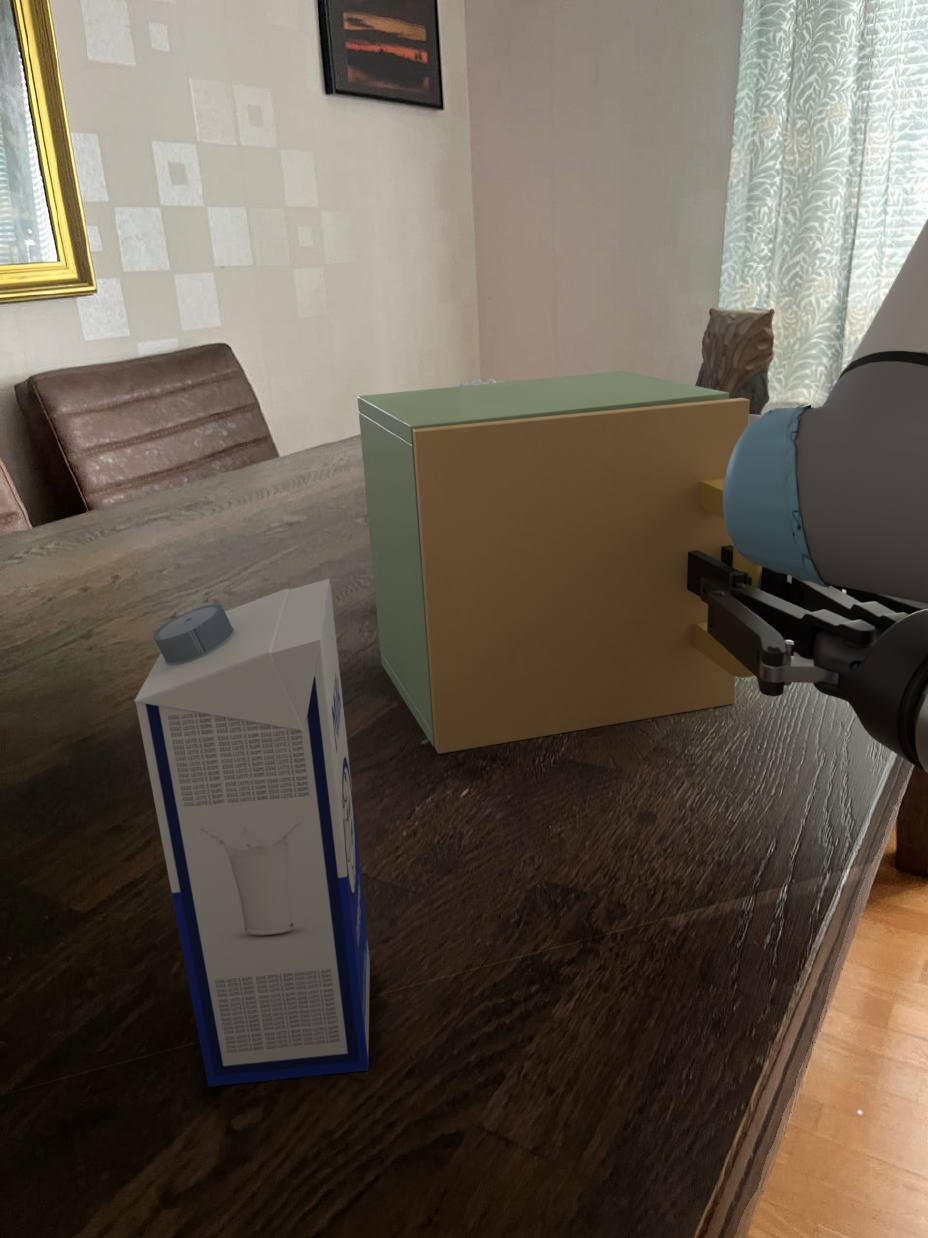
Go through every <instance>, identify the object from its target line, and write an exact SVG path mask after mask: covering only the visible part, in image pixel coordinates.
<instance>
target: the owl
mask: <svg viewBox="0 0 928 1238" xmlns="http://www.w3.org/2000/svg"><path fill="white" fill-rule="evenodd" d="M708 310H709V311H708V315H709V317H710V318H709V320H708V321H707V322H708V323H707V325H706V329H705V330H704V332H703V336H702V340H701V346H702V347H701V355H702V356H701V357H702V363H701V365H700V369H699V371H698V374H697V379H696V381H695V385H694V386H698V387H703V388H708V389H713V390H718V391H723V392H727V393H729V399H734V398H745V399H749V400H750V401H749V414H751V415H762V416H763V414H762V412H763V410H764V408H765V407H766V405H767V404H768V403H769V401H770V391H769V389H770V388H769V382H770V380H769V375H768V374H769V370H770V367H771V365H772V361H773V360H774V359H775V358H774V356H775V350H774V344H775V334H774V333H775V332H774V331H773V330H774V329H773V320H774V315H775V312H776V311H775V309H774V308H770V309H768V310H767V309H764V308H763V309H762V308H760V307H756V306H755V307H748V308H744V309H735V308H730V309H729V308H728V309H727V308H724V307H711V308H710V309H708Z"/></svg>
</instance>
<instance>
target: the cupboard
mask: <svg viewBox="0 0 928 1238" xmlns="http://www.w3.org/2000/svg"><path fill="white" fill-rule="evenodd" d="M724 399H729V393H727V392H723V391H718V390H713V389H708V388H703V387H698V386H695V385H694V384H689V383H682V382H678V381H672V380H668V379H664V378H658V377H654V376H650V375H649V376H648V375H644V374H639V373H634V372H630V371H624V370H618V371H609V372H597V373H587V374H577V375H568V376H567V375H566V376H556V377H547V378H535V379H525V380H514V381H504V382H502V383H491V384H481V385H470V386H459V387H457V386H451V387H439V388H438V387H437V388H430V389H429V388H428V389H419V390H417V389H416V390H408V391H399V392H398V391H397V392H387V393H377V394H365V395H358V396H357V408H358V420H359V430H360V441H361V442H360V443H361V452H362V453H361V454H362V464H363V474H364V487H365V496H366V497H365V498H366V509H367V520H368V531H369V542H370V552H371V553H370V555H371V562H372V563H371V564H372V576H373V585H374V586H373V587H374V597H375V608H376V618H377V629H378V631H377V632H378V640H379V641H378V643H379V651H380V664H381V666H382V668H383V669H384V671H385V672H386V674H387V675H388V677H389V679H390V680H391V682H392V684H393V685H394V686H395V688H396V690H397V691H398V693H399V695H400V696H401V698H402V699H403V701H404V702H405V704H406V706H407V708H408V710H410V712H411V714H412V716H413V717H414V719H416V722H417V724H418V725H419V727H420V729H421V730H422V731H423V733H424V735H425V736H426V738H427V740H428V741H429V742H430V744H431V745H432V747H433V748H435V740H434V726H433V712H432V698H431V684H430V670H429V656H428V642H427V628H426V613H425V599H424V585H423V571H422V557H421V543H420V529H419V515H418V501H417V487H416V472H415V458H414V444H413V429H419V428H430V427H440V426H451V425H461V424H472V423H482V422H493V421H503V420H514V419H524V418H535V417H545V416H556V415H566V414H577V413H587V412H598V411H608V410H619V409H629V408H640V407H650V406H661V405H671V404H682V403H692V402H703V401H713V400H724Z"/></svg>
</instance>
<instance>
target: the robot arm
mask: <svg viewBox="0 0 928 1238" xmlns="http://www.w3.org/2000/svg"><path fill="white" fill-rule="evenodd" d="M853 351H854V352H853V354H851V357H850V359H849V360H848V362H847V364H846V366H845V368H844V369H843V370H842V371H841V373H840V375H839V377H838V378H837V381H836V382H835V384H834V386H833V387H832V389H831V390H830V393H829V394H828V395H827V398H826V400H825V401H824V403H823V404H822V406H816V407H813V406H812V404H803V403H802V404H800V405H798V406H797V407H784V406H783V407H781V406H780V407H775V408H771V409H769V410H767V411H765V412H763V414H762V417H761V418H760V419H758V420H756V421H753V422H751V423H750V424H749V425H748V426H747V428H746V429H745V430H744V432H743V433H742V435H741V436H740V438H739V440H738V441H737V443H736V445H735V448H734V450H733V452H732V454H731V457H730V460H729V463H728V467H727V471H726V475H725V481H724V488H723V513H724V520H725V524H726V528H727V531H728V534H729V536H730V538H731V539H732V541H733V542H734V546H735V547H736V548H737V550H738V551H739V553H740V554H741V555H742V556H743V557H744V558H746V559H747V560H749V561H751V562H752V563H754V564H756V565H759V566H762V577H761V590H759V589H757V588H754V587H752V577H750V576H748V573H747V572H742V571H738V570H736V569H734V568H733V550H734V546H732V545H728V546H722V547H721V562H720V561H718V560H717V559H715V558H713V557H711V556H709V555H707V554H705V553H703V552H701V551H699V550H695V551H689V552H688V570H687V590H689V591H691V592H692V593H694V594H696V595H697V596H699V597H700V599H701V601H703V602H705V603H707V604H708V621H707V632H708V633H709V634H710V635H711V636H712V637H713V638H715V639H716V640H717V641H718V642H719V643H720V644H721V645H722V646H723V647H724V648H725V649H726V650H728V651H729V652H730V653H731V654H732V655H733V656H734V657H735V658H736V659H737V660H738V661H740V662H741V663H742V664H743V665H744V666H745V667H746V668H747V669H748V670H749V671H750V672H751V673H753V674H754V676H755V677H756V679H757V685H758V690H759V692H760V694H762V695H765V696H768V697H779V696H782V695H783V694H784V691H785V686H788V687H789V686H791V685H792V683H798V684H799V683H801V684H802V683H803V684H813V686H814V688H815V689H816V690H817V691H818V692H820V693H822V694H823V695H827V696H829V697H834V698H835V699H839V700H842V701H845V702H847V703H848V704H849V705H850V707H851V709H852V710H853V711H854V713H855V716H856V717H857V719H858V720H859V722H860V724H861V725H862V727H863V729H864V730H865V731H866V733H867V734H868V735H869V736H870V737H871V738H872V739H873V740H874V741H876V742H877V743H879V744H880V745H882V746H884V747H885V748H887V749H888V750H890V751H891V752H893V753H895V755H898V756H899V757H901V758H902V759H904V760H905V761H907V762H908V763H910V764H911V765H913V766H915V767H917V769H920V770H922V771H924V772H926V773H927V774H928V218H927V219H926V221H925V223H924V225H923V226H922V229H921V230H920V232H919V234H918V235H917V237H916V239H915V241H914V242H913V244H912V247H911V248H910V250H909V251H908V254H907V255H906V257H905V258H904V261H903V262H902V264H901V266H900V268H899V270H898V272H897V274H896V276H895V277H894V279H893V280H892V283H891V284H890V286H889V288H888V290H887V292H886V293H885V296H884V297H883V299H882V301H881V303H880V304H879V306H878V308H877V310H876V312H875V313H874V315H873V318H872V319H871V321H870V323H869V324H868V326H867V328H866V329H865V332H864V333H863V335H862V337H861V339H860V340H859V342H858V344H857V346H856V348H855V350H853ZM843 590H844V591H845V592H843Z"/></svg>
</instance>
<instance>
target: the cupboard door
mask: <svg viewBox="0 0 928 1238" xmlns="http://www.w3.org/2000/svg"><path fill="white" fill-rule="evenodd" d="M749 401H750V400H749V399H745V398H734V399H724V400H713V401H703V402H692V403H682V404H671V405H661V406H650V407H640V408H629V409H619V410H608V411H598V412H587V413H577V414H566V415H556V416H545V417H535V418H524V419H514V420H503V421H493V422H482V423H472V424H461V425H451V426H440V427H430V428H419V429H413V444H414V458H415V472H416V487H417V501H418V515H419V529H420V543H421V557H422V571H423V585H424V599H425V613H426V628H427V642H428V656H429V670H430V684H431V698H432V712H433V726H434V740H435V747H434V748H435V751H436V752H437V754H438V755H441V754H447V753H453V752H459V751H464V750H470V749H476V748H481V747H483V748H484V747H489V746H494V745H499V744H505V743H506V744H507V743H511V742H512V743H513V742H517V741H523V740H529V739H536V738H542V737H546V736H553V735H559V734H565V733H570V732H575V731H576V732H577V731H582V730H583V731H584V730H588V729H593V728H599V727H606V726H611V725H612V726H613V725H617V724H624V723H628V722H629V723H630V722H636V721H640V720H641V721H642V720H647V719H654V718H660V717H665V716H670V715H676V714H681V713H683V714H684V713H689V712H694V711H699V710H706V709H711V708H719V707H723V706H728V705H734V704H735V689H736V678H745V679H746V678H752V677H754V676H755V675H754V674H753V673H751V672H750V671H749V670H748V669H747V668H746V667H745V666H744V665H743V664H742V663H741V662H740V661H738V660H737V659H736V658H735V657H734V656H733V655H732V654H731V653H730V652H729V651H728V650H726V649H725V648H724V647H723V646H722V645H721V644H720V643H719V642H718V641H717V640H716V639H715V638H713V637H712V636H711V635H710V634H709V633H708V632H707V621H708V604H707V603H705V602H703V601H701V599H700V597H699V596H697V595H696V594H694V593H692V592H691V591H689V590H687V570H688V552H689V551H695V550H699V551H701V552H703V553H705V554H707V555H709V556H711V557H713V558H715V559H717V560H718V561H720V562H721V547H722V546H728V545H732V546H734V542H733V541H732V539H731V538H730V536H729V534H728V531H727V528H726V524H725V520H724V513H723V488H724V481H725V475H726V471H727V467H728V463H729V460H730V457H731V454H732V452H733V450H734V448H735V445H736V443H737V441H738V440H739V438H740V436H741V435H742V433H743V432H744V430H745V429H746V428H747V426H748V421H749ZM733 568H734V569H736V570H738V571H742V572H747V573H748V576H750V577H752V587H754V588H757V589H759V590H761V577H762V566H759V565H756V564H754V563H752V562H751V561H749V560H747V559H746V558H744V557H743V556H742V555H741V554H740V553H739V551H738V550H737V548H736V547H735V546H734V550H733Z"/></svg>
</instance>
